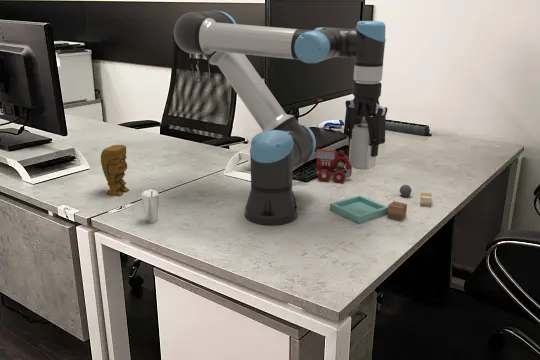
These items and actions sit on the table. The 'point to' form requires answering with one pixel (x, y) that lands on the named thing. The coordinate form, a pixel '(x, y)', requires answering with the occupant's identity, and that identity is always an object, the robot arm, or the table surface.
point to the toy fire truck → (332, 165)
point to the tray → (359, 209)
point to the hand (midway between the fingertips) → (361, 163)
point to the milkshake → (150, 205)
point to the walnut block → (397, 211)
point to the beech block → (426, 199)
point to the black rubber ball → (405, 190)
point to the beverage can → (359, 146)
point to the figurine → (114, 168)
